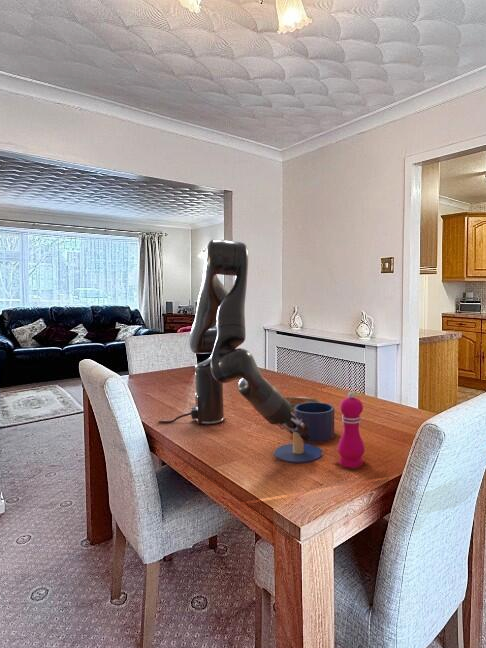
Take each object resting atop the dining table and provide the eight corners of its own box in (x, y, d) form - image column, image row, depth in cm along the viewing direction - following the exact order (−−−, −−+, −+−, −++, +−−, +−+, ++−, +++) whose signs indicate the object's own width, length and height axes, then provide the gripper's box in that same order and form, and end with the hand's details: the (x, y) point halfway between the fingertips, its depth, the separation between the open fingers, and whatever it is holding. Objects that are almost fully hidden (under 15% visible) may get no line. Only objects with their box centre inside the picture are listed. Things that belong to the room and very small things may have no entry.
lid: (282, 468, 120) (282, 433, 119) (268, 450, 133) (267, 418, 132) (330, 461, 125) (330, 427, 124) (311, 444, 138) (311, 413, 136)
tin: (280, 419, 162) (279, 396, 161) (283, 416, 165) (283, 394, 164) (319, 424, 157) (320, 400, 155) (323, 421, 160) (323, 398, 158)
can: (302, 445, 136) (302, 415, 135) (288, 432, 148) (288, 404, 147) (340, 440, 141) (340, 410, 139) (324, 428, 152) (324, 400, 151)
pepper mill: (335, 459, 126) (335, 388, 123) (361, 458, 126) (362, 388, 124) (339, 470, 119) (340, 395, 116) (367, 469, 119) (368, 395, 116)
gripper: (295, 396, 116) (328, 431, 126) (260, 387, 126) (293, 420, 136) (280, 421, 113) (314, 455, 123) (245, 410, 123) (280, 442, 133)
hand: (303, 436), depth 130 cm, fingers closed on lid, 3 cm apart
